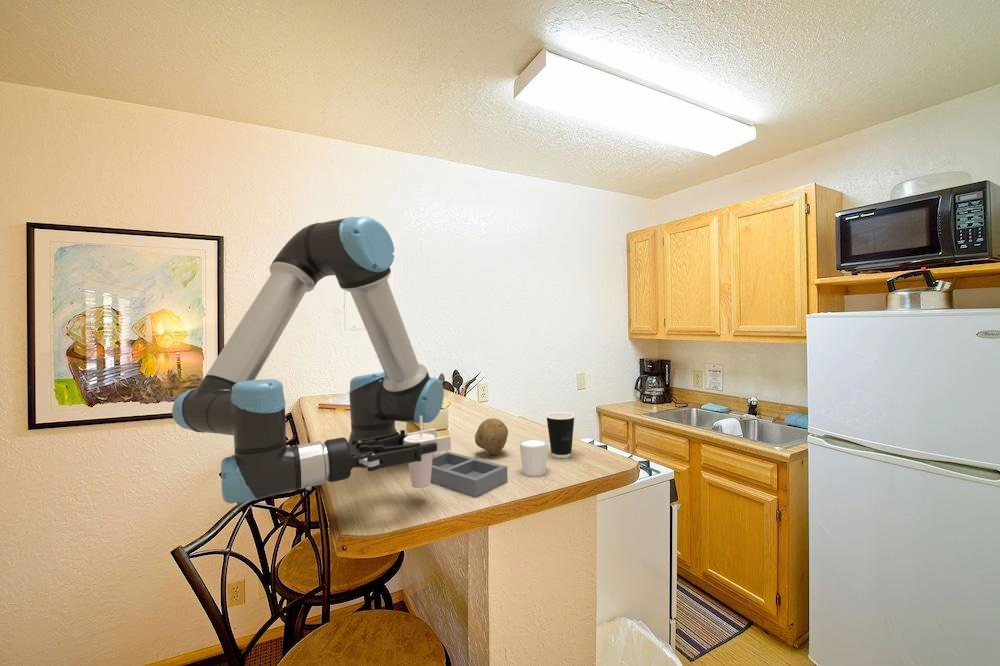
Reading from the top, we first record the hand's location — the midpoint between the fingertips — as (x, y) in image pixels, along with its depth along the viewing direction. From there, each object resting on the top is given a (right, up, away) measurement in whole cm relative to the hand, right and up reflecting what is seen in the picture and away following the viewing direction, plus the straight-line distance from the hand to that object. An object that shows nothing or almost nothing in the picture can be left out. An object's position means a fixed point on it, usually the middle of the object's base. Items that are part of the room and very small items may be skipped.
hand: (442, 438), depth 86 cm
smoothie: (-4, -9, -2) cm, 10 cm away
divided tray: (+3, -12, +9) cm, 15 cm away
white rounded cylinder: (+20, -11, +13) cm, 27 cm away
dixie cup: (+29, -11, +24) cm, 39 cm away
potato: (+10, -11, +27) cm, 31 cm away
